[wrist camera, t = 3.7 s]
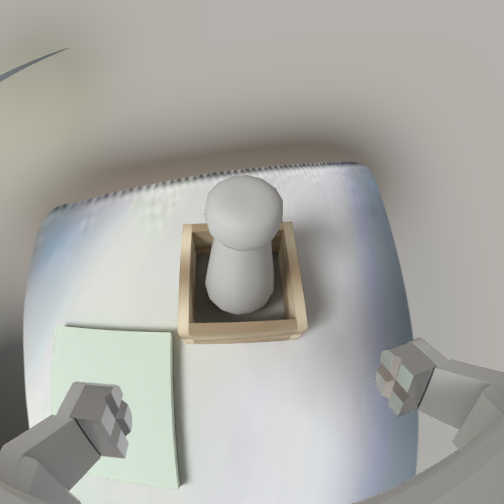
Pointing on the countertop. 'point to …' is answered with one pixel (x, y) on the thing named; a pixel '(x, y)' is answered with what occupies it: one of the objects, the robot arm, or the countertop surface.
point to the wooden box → (293, 327)
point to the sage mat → (126, 396)
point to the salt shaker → (242, 243)
